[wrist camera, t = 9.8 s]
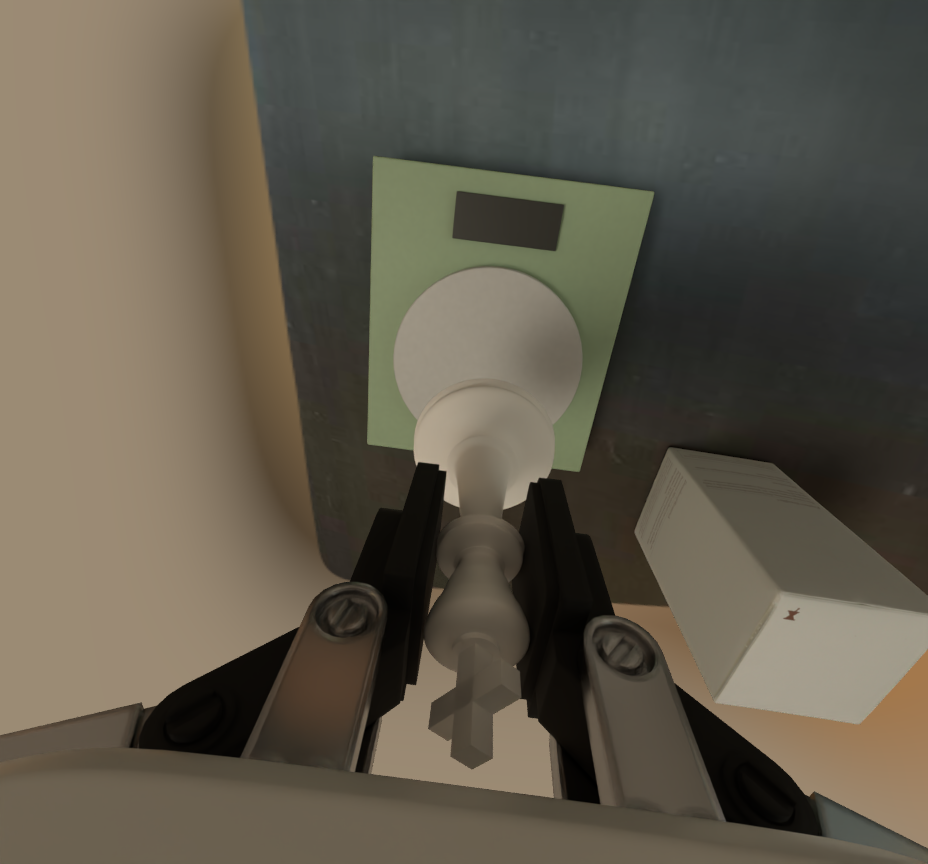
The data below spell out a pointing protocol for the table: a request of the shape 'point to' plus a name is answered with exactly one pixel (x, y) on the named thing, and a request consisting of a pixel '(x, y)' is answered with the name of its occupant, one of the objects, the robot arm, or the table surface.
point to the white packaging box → (777, 590)
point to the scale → (495, 291)
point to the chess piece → (480, 550)
